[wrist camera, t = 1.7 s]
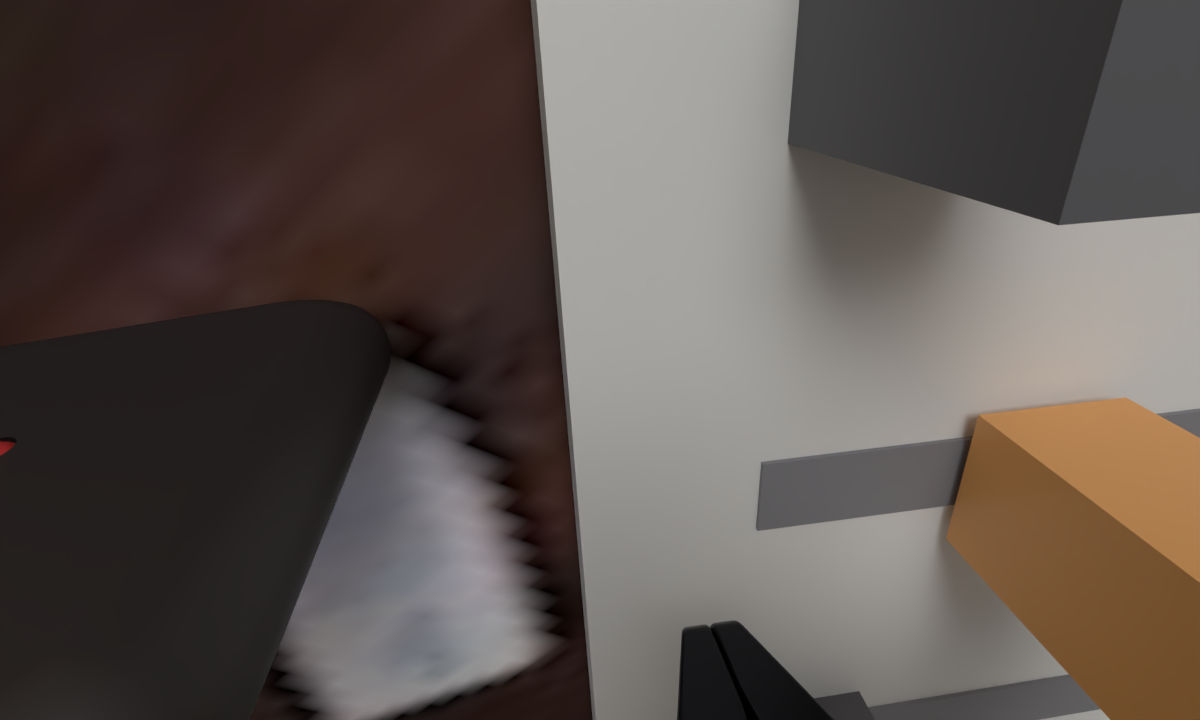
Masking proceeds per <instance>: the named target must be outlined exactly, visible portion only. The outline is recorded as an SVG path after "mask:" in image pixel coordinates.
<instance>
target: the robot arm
mask: <svg viewBox="0 0 1200 720" xmlns="http://www.w3.org/2000/svg"><path fill="white" fill-rule="evenodd" d="M677 720H835V719H834V718H833V717H832V716H831V715H830V714H829V713H828V712H827V711H826V710H825V709H824V708H823V707H822V706H821V705H820V704H819V703H818V702H817V701H816V700H815V699H814V698H813V697H812V696H811V695H810V694H809V693H808V692H807V691H806V689H805V688H804V687H803V686H802V685H801V684H800V683H799V682H798V681H797V680H796V679H795V678H794V677H793V676H792V675H791V674H790V673H789V672H788V671H787V670H786V669H785V668H784V667H783V666H782V665H781V664H780V663H779V662H778V661H777V660H776V659H775V658H774V657H773V656H772V655H771V654H770V653H769V652H768V651H767V650H766V648H765V647H764V646H763V645H762V644H761V643H760V642H759V641H758V640H757V639H756V638H755V637H754V636H753V635H752V634H751V633H750V632H749V631H748V630H747V629H746V628H745V627H744V626H743V625H742V624H741V623H740V622H738V621H736V620H730V621H724V622H717V623H713V624H711V626H710V627H709V626H708V625H705V624H703V625H696V626H689V627H684V628H683V630H682V635H681V653H680V671H679V690H678V708H677Z"/></svg>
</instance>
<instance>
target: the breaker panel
mask: <svg viewBox="0 0 1200 720" xmlns="http://www.w3.org/2000/svg"><path fill="white" fill-rule="evenodd" d="M531 10H532V22H533V34H534V45H535V57H536V68H537V80H538V91H539V103H540V115H541V126H542V138H543V149H544V161H545V173H546V184H547V196H548V207H549V219H550V231H551V242H552V254H553V265H554V277H555V289H556V300H557V312H558V323H559V335H560V346H561V358H562V370H563V381H564V393H565V404H566V416H567V428H568V439H569V451H570V462H571V474H572V486H573V497H574V509H575V520H576V532H577V544H578V555H579V567H580V578H581V590H582V601H583V613H584V625H585V636H586V648H587V659H588V671H589V683H590V694H591V706H592V717H593V720H677V708H678V690H679V671H680V653H681V635H682V630H683V628H684V627H689V626H696V625H703V624H705V625H708V626H709V627H710V626H711V624H713V623H717V622H724V621H730V620H736V621H738V622H740V623H741V624H742V625H743V626H744V627H745V628H746V629H747V630H748V631H749V632H750V633H751V634H752V635H753V636H754V637H755V638H756V639H757V640H758V641H759V642H760V643H761V644H762V645H763V646H764V647H765V648H766V650H767V651H768V652H769V653H770V654H771V655H772V656H773V657H774V658H775V659H776V660H777V661H778V662H779V663H780V664H781V665H782V666H783V667H784V668H785V669H786V670H787V671H788V672H789V673H790V674H791V675H792V676H793V677H794V678H795V679H796V680H797V681H798V682H799V683H800V684H801V685H802V686H803V687H804V688H805V689H806V691H807V692H808V693H809V694H810V695H811V696H812V697H813V698H814V699H815V700H816V701H817V702H818V703H819V704H820V705H821V706H822V707H823V708H824V709H825V710H826V711H827V712H828V713H829V714H830V715H831V716H832V717H833V718H834V719H835V720H1110V719H1109V718H1108V717H1107V716H1106V715H1105V713H1104V712H1103V711H1102V710H1101V709H1100V708H1099V707H1098V706H1097V705H1096V704H1095V702H1094V701H1093V700H1092V699H1091V698H1090V697H1089V696H1088V695H1087V694H1086V692H1085V691H1084V690H1083V689H1082V688H1081V687H1080V686H1079V685H1078V684H1077V683H1076V681H1075V680H1074V679H1073V678H1072V677H1071V676H1070V675H1069V674H1068V673H1067V672H1066V670H1065V669H1064V668H1063V667H1062V666H1061V665H1060V664H1059V663H1058V662H1057V661H1056V659H1055V658H1054V657H1053V656H1052V655H1051V654H1050V653H1049V652H1048V651H1047V650H1046V648H1045V647H1044V646H1043V645H1042V644H1041V643H1040V642H1039V641H1038V640H1037V639H1036V637H1035V636H1034V635H1033V634H1032V633H1031V632H1030V631H1029V630H1028V629H1027V628H1026V626H1025V625H1024V624H1023V623H1022V622H1021V621H1020V620H1019V619H1018V618H1017V617H1016V615H1015V614H1014V613H1013V612H1012V611H1011V610H1010V609H1009V608H1008V607H1007V606H1006V604H1005V603H1004V602H1003V601H1002V600H1001V599H1000V598H999V597H998V596H997V595H996V593H995V592H994V591H993V590H992V589H991V588H990V587H989V586H988V585H987V584H986V582H985V581H984V580H983V579H982V578H981V577H980V576H979V575H978V574H977V573H976V571H975V570H974V569H973V568H972V567H971V566H970V565H969V564H968V563H967V562H966V560H965V559H964V558H963V557H962V556H961V555H960V554H959V553H958V552H957V551H956V549H955V548H954V547H953V546H952V545H951V544H950V543H949V542H948V541H947V540H946V536H947V532H948V529H949V525H950V521H951V517H952V513H953V510H954V506H955V502H956V498H957V495H958V491H959V487H960V483H961V479H962V476H963V472H964V468H965V464H966V460H967V457H968V453H969V449H970V445H971V441H972V438H973V434H974V430H975V426H976V422H977V419H978V415H981V414H990V413H998V412H1007V411H1015V410H1024V409H1032V408H1040V407H1049V406H1057V405H1066V404H1074V403H1083V402H1091V401H1099V400H1108V399H1116V398H1125V397H1126V398H1128V399H1130V400H1132V401H1133V402H1135V403H1137V404H1139V405H1141V406H1143V407H1144V408H1146V409H1148V410H1150V411H1152V412H1154V413H1155V414H1157V415H1159V416H1161V417H1163V418H1164V419H1166V420H1168V421H1170V422H1172V423H1174V424H1175V425H1177V426H1179V427H1181V428H1183V429H1184V430H1186V431H1188V432H1190V433H1192V434H1194V435H1195V436H1197V437H1199V438H1200V0H531Z"/></svg>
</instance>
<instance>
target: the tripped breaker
mask: <svg viewBox="0 0 1200 720" xmlns="http://www.w3.org/2000/svg"><path fill="white" fill-rule="evenodd" d="M946 540H947V541H948V542H949V543H950V544H951V545H952V546H953V547H954V548H955V549H956V551H957V552H958V553H959V554H960V555H961V556H962V557H963V558H964V559H965V560H966V562H967V563H968V564H969V565H970V566H971V567H972V568H973V569H974V570H975V571H976V573H977V574H978V575H979V576H980V577H981V578H982V579H983V580H984V581H985V582H986V584H987V585H988V586H989V587H990V588H991V589H992V590H993V591H994V592H995V593H996V595H997V596H998V597H999V598H1000V599H1001V600H1002V601H1003V602H1004V603H1005V604H1006V606H1007V607H1008V608H1009V609H1010V610H1011V611H1012V612H1013V613H1014V614H1015V615H1016V617H1017V618H1018V619H1019V620H1020V621H1021V622H1022V623H1023V624H1024V625H1025V626H1026V628H1027V629H1028V630H1029V631H1030V632H1031V633H1032V634H1033V635H1034V636H1035V637H1036V639H1037V640H1038V641H1039V642H1040V643H1041V644H1042V645H1043V646H1044V647H1045V648H1046V650H1047V651H1048V652H1049V653H1050V654H1051V655H1052V656H1053V657H1054V658H1055V659H1056V661H1057V662H1058V663H1059V664H1060V665H1061V666H1062V667H1063V668H1064V669H1065V670H1066V672H1067V673H1068V674H1069V675H1070V676H1071V677H1072V678H1073V679H1074V680H1075V681H1076V683H1077V684H1078V685H1079V686H1080V687H1081V688H1082V689H1083V690H1084V691H1085V692H1086V694H1087V695H1088V696H1089V697H1090V698H1091V699H1092V700H1093V701H1094V702H1095V704H1096V705H1097V706H1098V707H1099V708H1100V709H1101V710H1102V711H1103V712H1104V713H1105V715H1106V716H1107V717H1108V718H1109V719H1110V720H1200V438H1199V437H1197V436H1195V435H1194V434H1192V433H1190V432H1188V431H1186V430H1184V429H1183V428H1181V427H1179V426H1177V425H1175V424H1174V423H1172V422H1170V421H1168V420H1166V419H1164V418H1163V417H1161V416H1159V415H1157V414H1155V413H1154V412H1152V411H1150V410H1148V409H1146V408H1144V407H1143V406H1141V405H1139V404H1137V403H1135V402H1133V401H1132V400H1130V399H1128V398H1126V397H1125V398H1116V399H1108V400H1099V401H1091V402H1083V403H1074V404H1066V405H1057V406H1049V407H1040V408H1032V409H1024V410H1015V411H1007V412H998V413H990V414H981V415H978V419H977V422H976V426H975V430H974V434H973V438H972V441H971V445H970V449H969V453H968V457H967V460H966V464H965V468H964V472H963V476H962V479H961V483H960V487H959V491H958V495H957V498H956V502H955V506H954V510H953V513H952V517H951V521H950V525H949V529H948V532H947V536H946Z"/></svg>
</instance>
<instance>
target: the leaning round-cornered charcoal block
mask: <svg viewBox="0 0 1200 720" xmlns="http://www.w3.org/2000/svg"><path fill="white" fill-rule="evenodd" d="M390 358H391V350H390V344H389V340H388V337H387V335H386V332H385V330H384V329H383V327H382V326H381V324H380V323H379V322H378V321H377V320H376V319H375V318H374V317H373V316H372V315H371V314H369V313H368V312H366V311H365V310H363V309H361V308H359V307H357V306H354V305H351V304H347V303H342V302H335V301H326V300H299V301H287V302H279V303H272V304H265V305H259V306H253V307H247V308H240V309H234V310H228V311H222V312H215V313H209V314H203V315H197V316H191V317H184V318H178V319H172V320H166V321H159V322H153V323H147V324H141V325H134V326H128V327H122V328H116V329H110V330H103V331H97V332H91V333H85V334H78V335H72V336H66V337H60V338H53V339H47V340H41V341H35V342H29V343H22V344H16V345H10V346H4V347H0V720H250V718H251V716H252V713H253V711H254V708H255V706H256V703H257V700H258V698H259V695H260V693H261V690H262V688H263V685H264V683H265V680H266V678H267V675H268V673H269V670H270V668H271V665H272V662H273V660H274V657H275V655H276V652H277V650H278V647H279V645H280V642H281V640H282V637H283V635H284V632H285V630H286V627H287V625H288V622H289V619H290V617H291V614H292V612H293V609H294V607H295V604H296V602H297V599H298V597H299V594H300V592H301V589H302V587H303V584H304V582H305V579H306V576H307V574H308V571H309V569H310V566H311V564H312V561H313V559H314V556H315V554H316V551H317V549H318V546H319V544H320V541H321V538H322V536H323V533H324V531H325V528H326V526H327V523H328V521H329V518H330V516H331V513H332V511H333V508H334V506H335V503H336V501H337V498H338V495H339V493H340V490H341V488H342V485H343V483H344V480H345V478H346V475H347V473H348V470H349V468H350V465H351V463H352V460H353V458H354V455H355V452H356V450H357V447H358V445H359V442H360V440H361V437H362V435H363V432H364V430H365V427H366V425H367V422H368V420H369V417H370V415H371V412H372V409H373V407H374V404H375V402H376V399H377V397H378V394H379V392H380V389H381V387H382V384H383V382H384V379H385V377H386V374H387V371H388V368H389V364H390Z"/></svg>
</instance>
